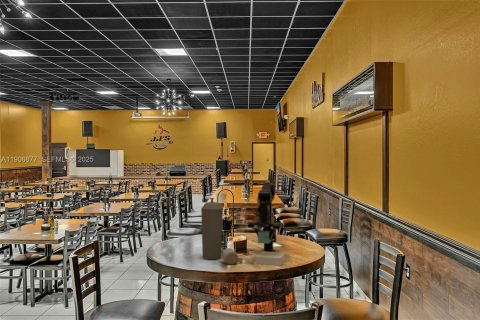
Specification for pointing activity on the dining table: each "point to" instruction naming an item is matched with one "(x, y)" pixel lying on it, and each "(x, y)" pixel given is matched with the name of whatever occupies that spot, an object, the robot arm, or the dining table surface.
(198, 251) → the dining table surface
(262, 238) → the teal block
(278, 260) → the grey base
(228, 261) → the ceramic mug
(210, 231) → the canister
